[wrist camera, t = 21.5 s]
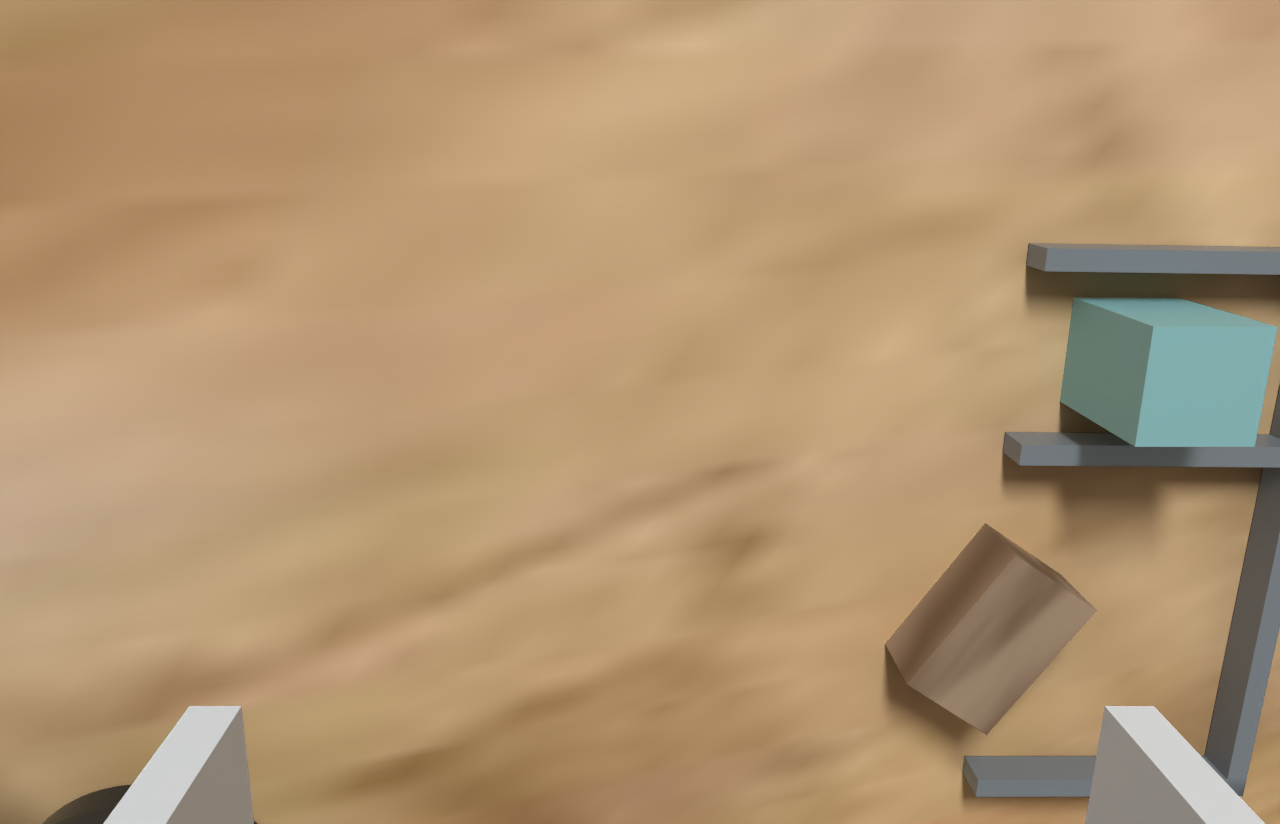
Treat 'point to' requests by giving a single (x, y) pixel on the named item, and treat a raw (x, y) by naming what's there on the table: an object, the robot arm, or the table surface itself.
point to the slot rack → (1276, 552)
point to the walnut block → (987, 629)
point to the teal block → (1167, 371)
